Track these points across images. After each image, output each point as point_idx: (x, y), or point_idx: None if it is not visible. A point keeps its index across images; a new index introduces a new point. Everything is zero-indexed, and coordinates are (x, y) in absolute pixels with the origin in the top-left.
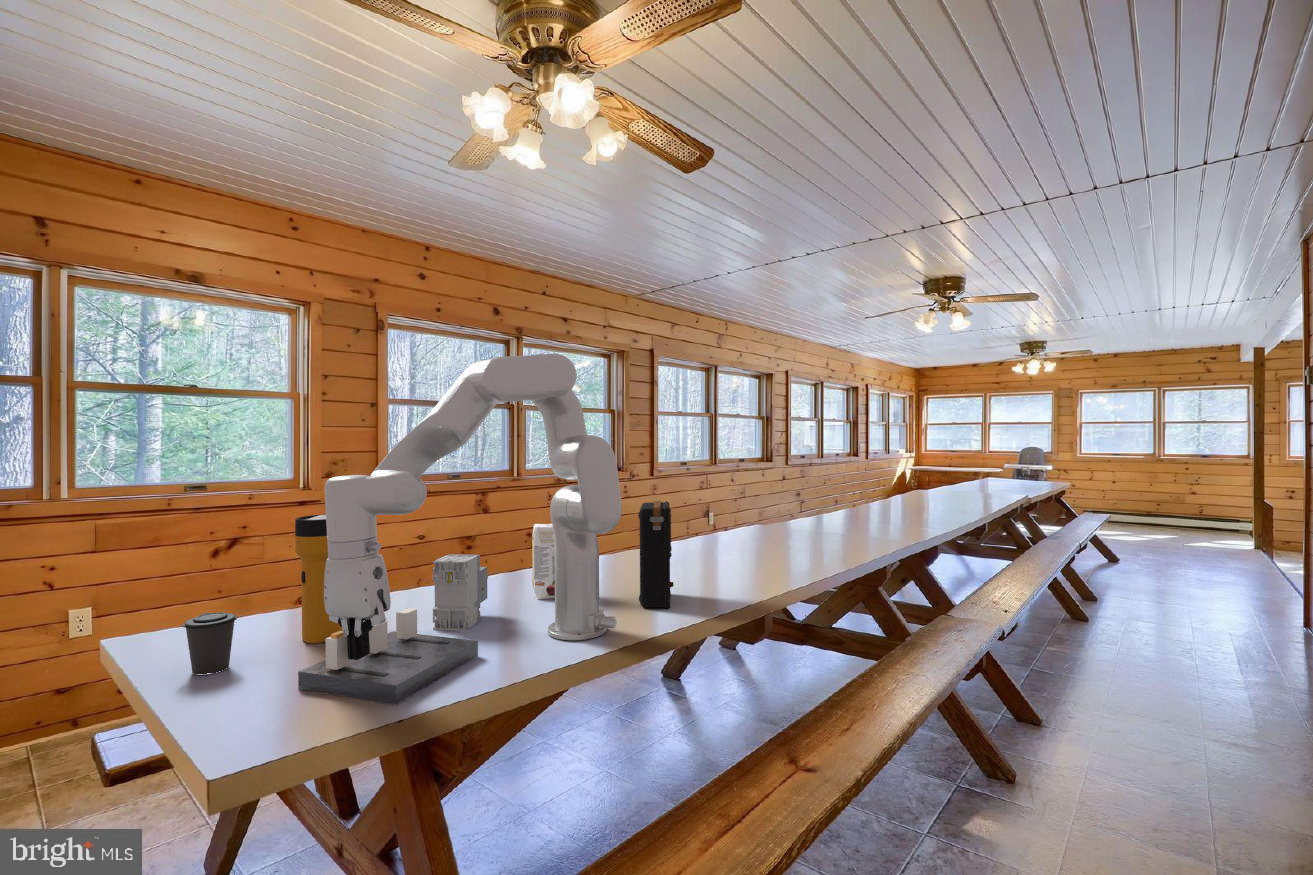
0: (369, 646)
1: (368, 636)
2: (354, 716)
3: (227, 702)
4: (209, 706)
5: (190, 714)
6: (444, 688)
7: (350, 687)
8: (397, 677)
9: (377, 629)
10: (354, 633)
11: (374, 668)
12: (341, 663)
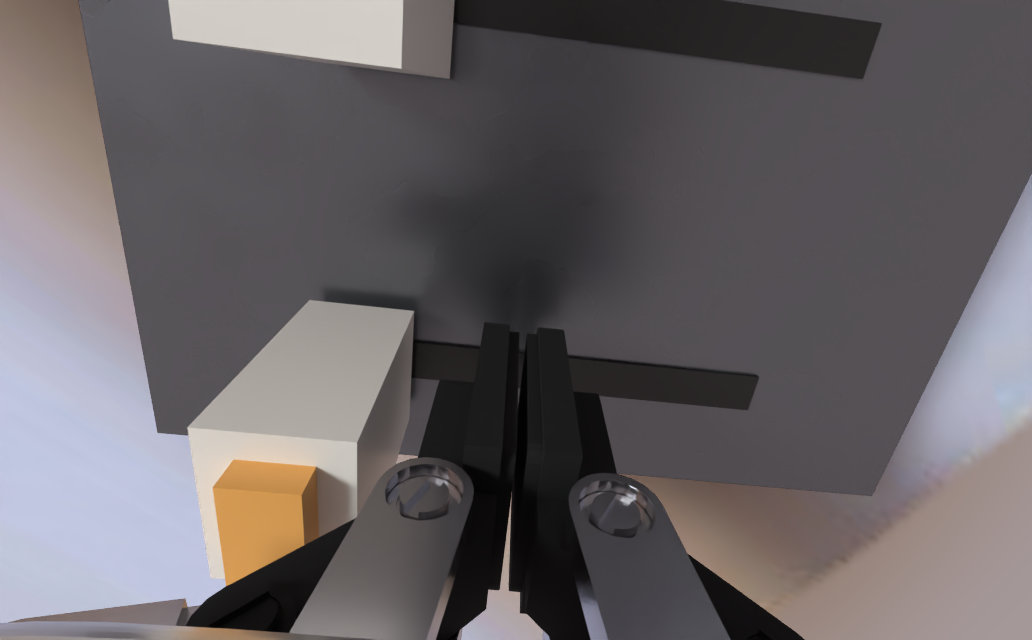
0: (565, 351)
1: (614, 473)
2: (687, 537)
3: (52, 528)
4: (28, 563)
5: (46, 615)
6: (1015, 227)
7: None
8: (836, 408)
9: (417, 23)
10: (543, 636)
11: (610, 314)
12: (405, 404)
